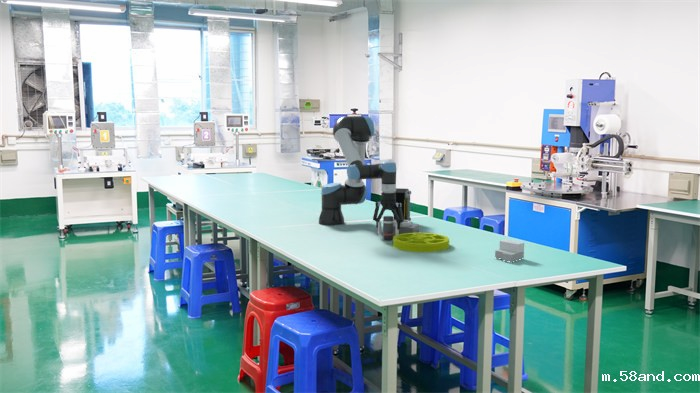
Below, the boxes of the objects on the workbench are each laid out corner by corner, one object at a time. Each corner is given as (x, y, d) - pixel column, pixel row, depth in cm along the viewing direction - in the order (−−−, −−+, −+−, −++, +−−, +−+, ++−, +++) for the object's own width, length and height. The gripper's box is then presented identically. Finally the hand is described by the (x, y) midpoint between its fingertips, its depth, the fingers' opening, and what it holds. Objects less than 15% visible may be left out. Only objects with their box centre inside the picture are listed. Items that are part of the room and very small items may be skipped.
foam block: (492, 260, 286) (493, 242, 285) (505, 256, 293) (505, 239, 292) (511, 264, 279) (512, 246, 278) (523, 260, 286) (524, 242, 285)
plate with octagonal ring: (384, 234, 339) (384, 221, 338) (391, 231, 349) (391, 218, 348) (412, 237, 333) (413, 224, 332) (419, 233, 343) (419, 220, 342)
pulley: (383, 243, 320) (383, 233, 320) (430, 238, 331) (431, 229, 331) (409, 255, 295) (409, 244, 294) (460, 249, 306) (460, 239, 305)
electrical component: (407, 227, 360) (408, 192, 357) (390, 226, 362) (390, 192, 359) (411, 221, 377) (411, 188, 374) (394, 221, 379) (394, 188, 376)
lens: (381, 240, 326) (381, 217, 324) (385, 238, 331) (385, 215, 329) (391, 240, 324) (391, 218, 322) (394, 238, 329) (395, 216, 327)
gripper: (366, 191, 325) (366, 234, 328) (406, 194, 316) (405, 237, 319) (371, 189, 332) (371, 231, 335) (411, 192, 323) (410, 235, 326)
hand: (388, 234), depth 327 cm, fingers open, 9 cm apart
